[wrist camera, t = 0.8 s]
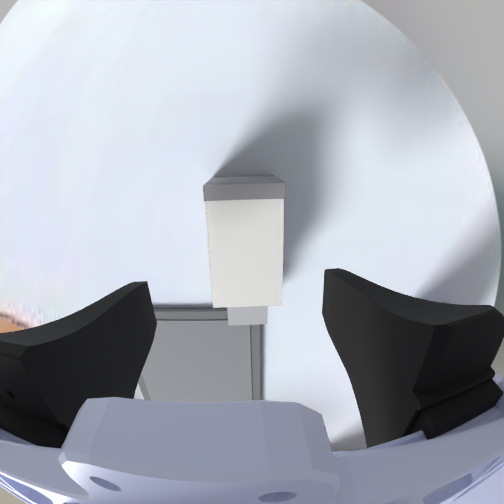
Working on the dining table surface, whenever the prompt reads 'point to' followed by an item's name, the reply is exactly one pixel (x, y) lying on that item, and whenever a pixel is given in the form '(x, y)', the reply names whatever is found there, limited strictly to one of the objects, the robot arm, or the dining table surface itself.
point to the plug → (245, 245)
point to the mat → (201, 358)
